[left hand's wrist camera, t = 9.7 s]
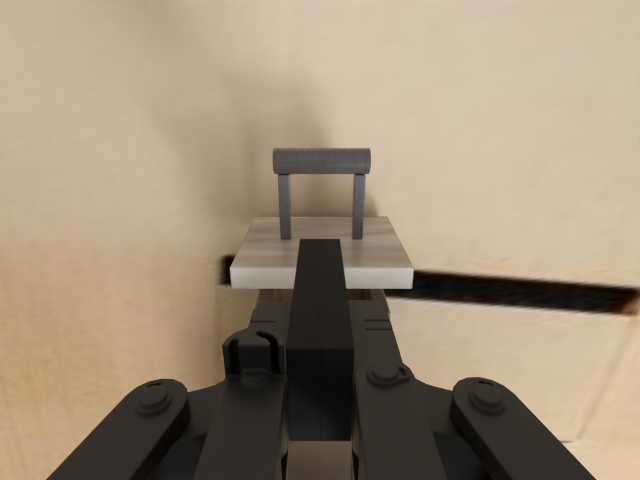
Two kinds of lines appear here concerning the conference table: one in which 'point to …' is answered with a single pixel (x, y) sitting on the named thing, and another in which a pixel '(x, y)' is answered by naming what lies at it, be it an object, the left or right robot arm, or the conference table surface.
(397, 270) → the drawer
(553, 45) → the conference table surface
